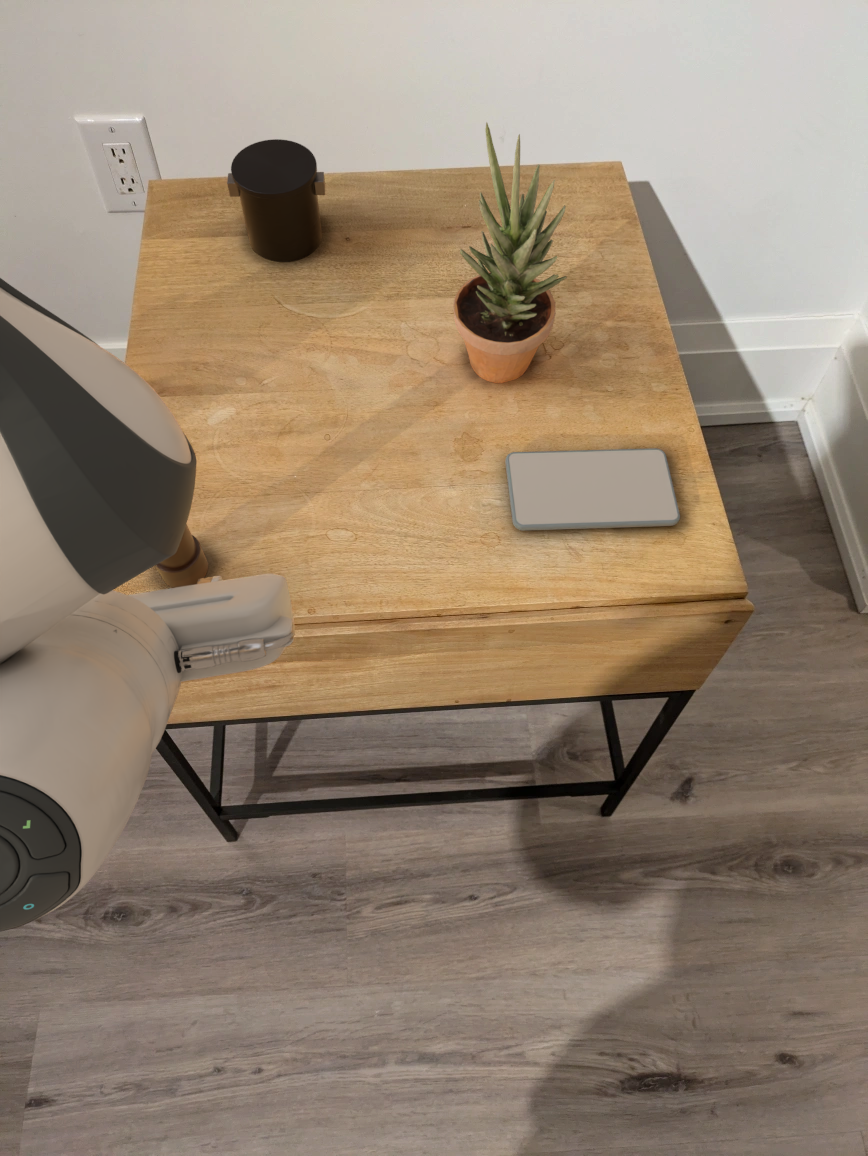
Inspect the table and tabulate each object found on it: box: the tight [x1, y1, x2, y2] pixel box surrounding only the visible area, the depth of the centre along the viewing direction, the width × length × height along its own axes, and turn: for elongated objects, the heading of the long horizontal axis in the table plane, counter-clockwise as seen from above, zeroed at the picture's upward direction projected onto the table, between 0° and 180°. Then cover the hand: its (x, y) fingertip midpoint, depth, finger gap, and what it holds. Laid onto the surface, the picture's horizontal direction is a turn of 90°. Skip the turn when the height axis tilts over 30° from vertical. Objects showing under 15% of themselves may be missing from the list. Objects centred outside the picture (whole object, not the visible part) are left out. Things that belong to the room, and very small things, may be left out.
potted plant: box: [453, 121, 568, 384], centre depth 74 cm, size 10×10×25 cm
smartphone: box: [504, 447, 681, 531], centre depth 77 cm, size 8×1×15 cm
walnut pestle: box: [154, 523, 209, 588], centre depth 68 cm, size 4×4×10 cm
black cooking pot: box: [226, 138, 326, 263], centre depth 89 cm, size 10×9×9 cm
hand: (140, 599), depth 56 cm, fingers open, 8 cm apart
